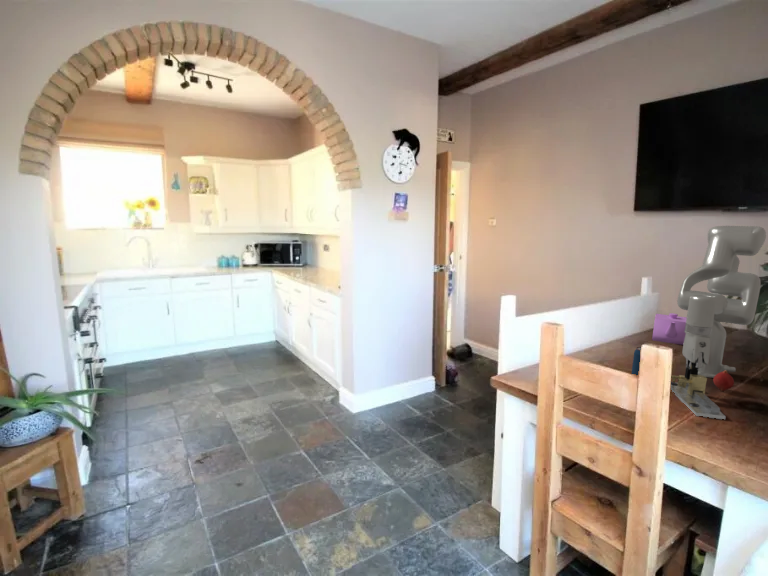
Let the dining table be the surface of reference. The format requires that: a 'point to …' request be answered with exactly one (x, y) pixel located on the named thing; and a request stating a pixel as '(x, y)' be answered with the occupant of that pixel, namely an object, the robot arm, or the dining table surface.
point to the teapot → (669, 328)
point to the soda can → (636, 361)
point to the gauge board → (696, 400)
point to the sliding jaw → (695, 383)
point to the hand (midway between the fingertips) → (690, 378)
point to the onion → (723, 380)
